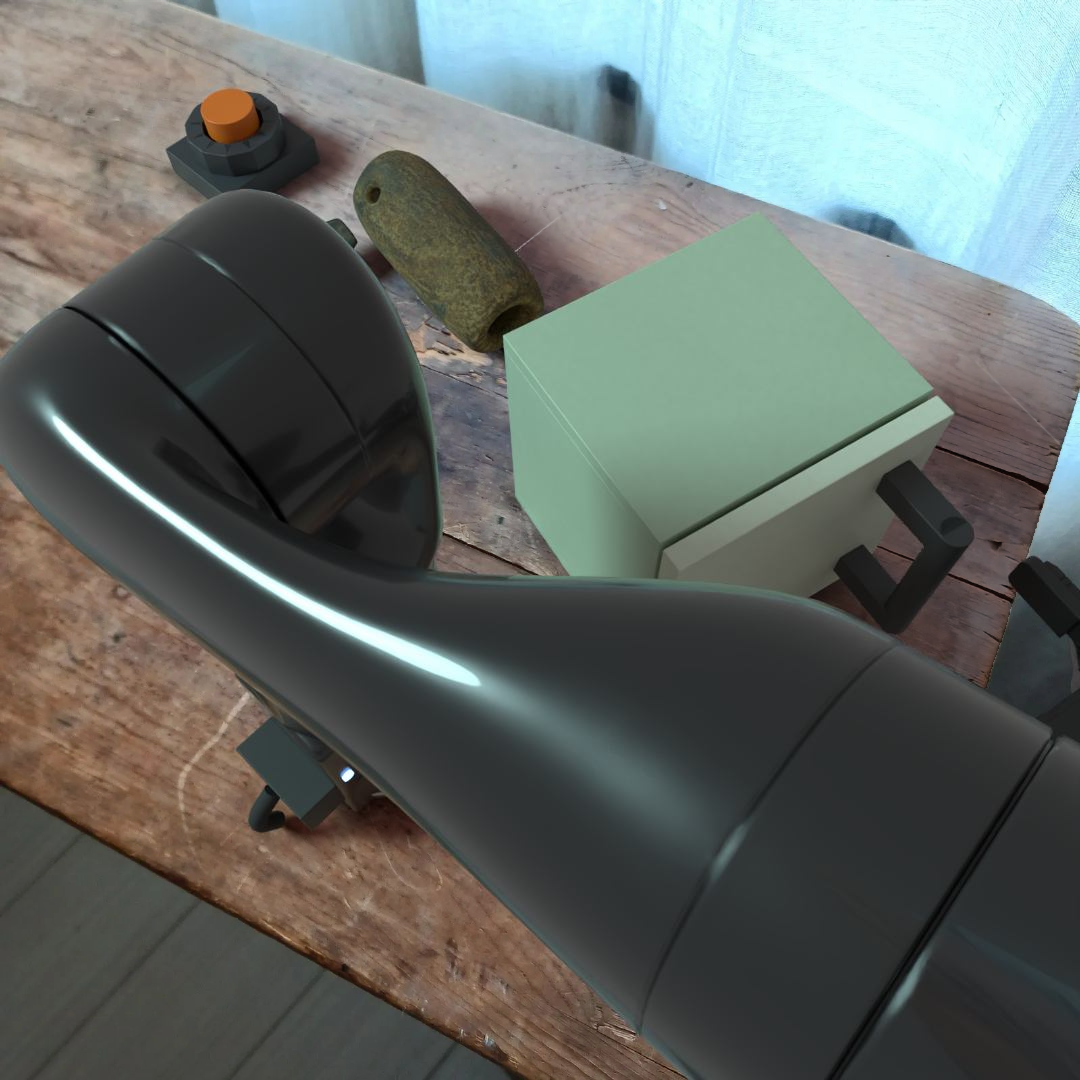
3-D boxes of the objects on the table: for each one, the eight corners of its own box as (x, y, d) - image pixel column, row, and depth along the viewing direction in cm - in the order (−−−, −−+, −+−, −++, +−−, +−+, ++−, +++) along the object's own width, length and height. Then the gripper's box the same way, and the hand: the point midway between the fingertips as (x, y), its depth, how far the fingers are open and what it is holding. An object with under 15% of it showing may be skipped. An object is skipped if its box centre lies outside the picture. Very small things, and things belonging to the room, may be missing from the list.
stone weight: (344, 249, 71) (324, 173, 65) (424, 201, 73) (412, 123, 67) (479, 382, 65) (470, 312, 59) (562, 325, 67) (562, 252, 61)
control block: (234, 221, 72) (217, 176, 69) (174, 173, 75) (155, 128, 71) (320, 162, 75) (308, 116, 71) (260, 117, 77) (246, 71, 74)
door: (924, 627, 57) (1032, 491, 44) (703, 767, 53) (748, 664, 40) (854, 545, 59) (937, 394, 46) (638, 674, 56) (662, 549, 43)
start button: (229, 152, 70) (222, 131, 69) (197, 127, 72) (189, 106, 70) (270, 125, 72) (263, 104, 70) (238, 102, 73) (231, 80, 71)
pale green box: (851, 543, 59) (935, 388, 46) (636, 671, 56) (659, 543, 43) (719, 389, 65) (760, 210, 51) (515, 497, 61) (502, 335, 48)
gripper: (1401, 802, 40) (1097, 499, 47) (1141, 1007, 37) (853, 651, 44) (1282, 841, 47) (1030, 571, 54) (1053, 1018, 44) (815, 708, 50)
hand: (951, 607), depth 49 cm, fingers open, 8 cm apart
